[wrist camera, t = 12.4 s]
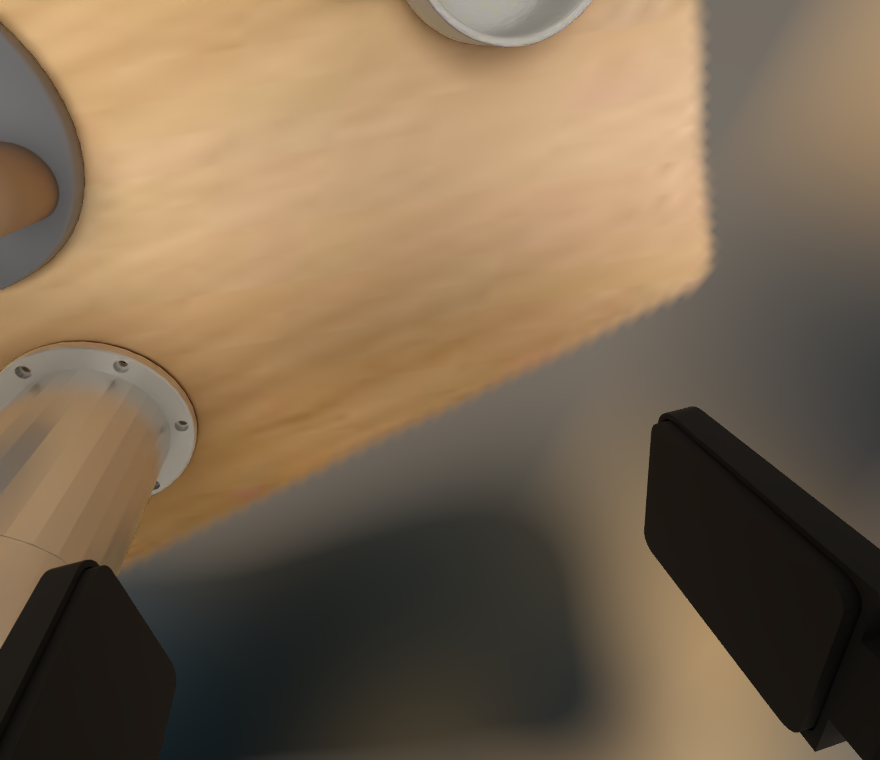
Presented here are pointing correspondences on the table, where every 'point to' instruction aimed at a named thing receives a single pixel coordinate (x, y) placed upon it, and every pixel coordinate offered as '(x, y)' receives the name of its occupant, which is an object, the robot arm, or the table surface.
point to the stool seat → (34, 165)
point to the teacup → (498, 19)
